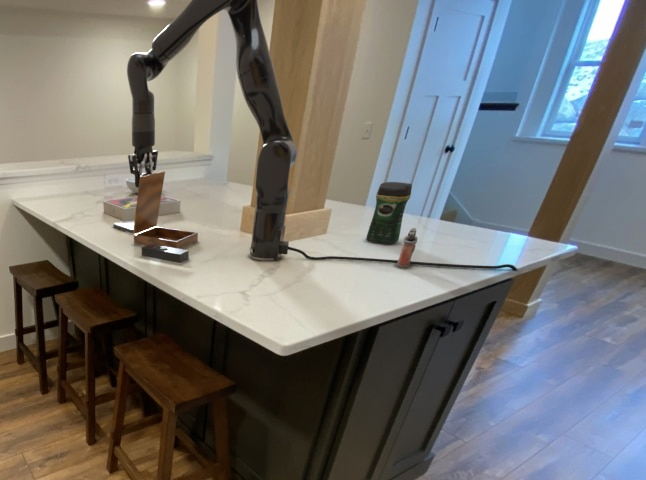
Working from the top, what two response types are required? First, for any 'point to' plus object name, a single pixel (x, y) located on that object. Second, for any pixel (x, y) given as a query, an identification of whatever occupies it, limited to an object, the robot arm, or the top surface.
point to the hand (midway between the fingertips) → (143, 185)
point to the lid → (148, 201)
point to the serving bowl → (132, 184)
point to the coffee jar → (389, 212)
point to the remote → (165, 253)
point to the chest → (166, 237)
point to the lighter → (407, 249)
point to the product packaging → (127, 207)
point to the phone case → (126, 226)
